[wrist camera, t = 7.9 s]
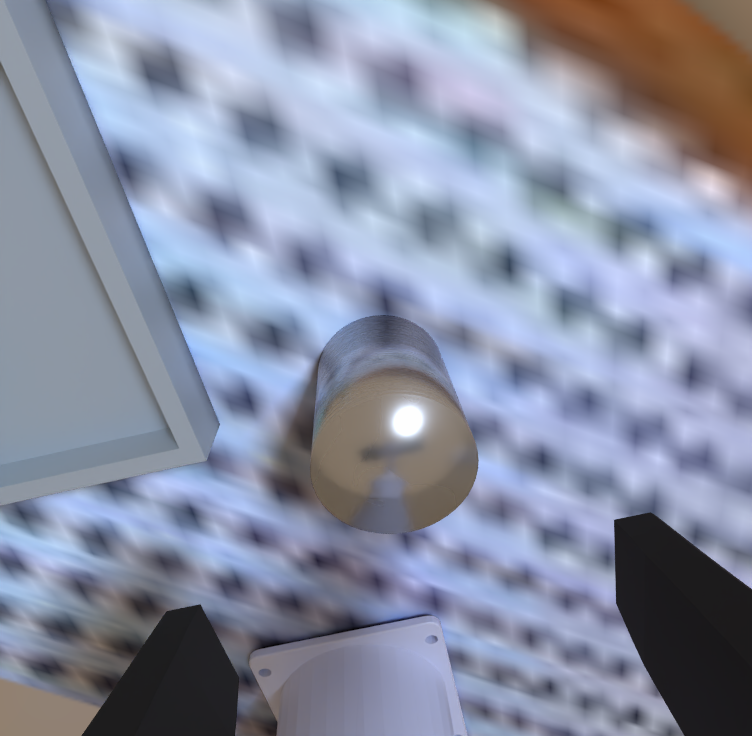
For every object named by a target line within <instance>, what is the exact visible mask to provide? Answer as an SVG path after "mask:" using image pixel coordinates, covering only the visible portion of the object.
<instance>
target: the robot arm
mask: <svg viewBox="0 0 752 736" xmlns="http://www.w3.org/2000/svg"><path fill="white" fill-rule="evenodd" d="M614 532H615V573H616V604H617V606H618V608H619V611H620V613H621V615H622V618H623V620H624V622H625V624H626V627H627V629H628V631H629V633H630V636H631V638H632V640H633V642H634V644H635V647H636V649H637V651H638V653H639V655H640V658H641V660H642V662H643V664H644V666H645V668H646V670H647V671H648V673H649V675H650V677H651V678H652V680H653V682H654V684H655V685H656V687H657V689H658V691H659V692H660V694H661V696H662V698H663V699H664V701H665V703H666V705H667V706H668V708H669V710H670V712H671V713H672V715H673V717H674V718H675V720H676V722H677V724H678V725H679V727H680V729H681V730H682V732H683V734H684V736H752V589H751V588H749V587H748V586H747V585H745V584H744V583H743V582H741V581H740V580H739V579H737V578H736V577H735V576H733V575H732V574H731V573H729V572H728V571H727V570H725V569H724V568H723V567H721V566H720V565H719V564H717V563H716V562H715V561H714V560H712V559H711V558H710V557H708V556H707V555H706V554H704V553H703V552H702V551H700V550H699V549H698V548H697V547H695V546H694V545H693V544H691V543H690V542H689V541H688V540H686V539H685V538H684V537H683V536H681V535H680V534H679V533H677V532H676V531H675V530H674V529H672V528H671V527H670V526H668V525H667V524H666V523H665V522H663V521H662V520H661V519H660V518H658V517H657V516H655V515H654V514H652V513H651V512H650V513H645V514H641V515H636V516H631V517H626V518H621V519H616V520H614ZM249 666H250V668H251V670H252V672H253V674H254V676H255V678H256V680H257V682H258V684H259V686H260V688H261V690H262V692H263V694H264V696H265V698H266V700H267V702H268V704H269V706H270V708H271V710H272V712H273V714H274V716H275V718H276V720H277V722H278V726H277V736H468V735H467V731H466V727H465V722H464V718H463V714H462V710H461V706H460V702H459V698H458V693H457V689H456V685H455V681H454V677H453V673H452V669H451V664H450V660H449V656H448V652H447V648H446V644H445V640H444V635H443V631H442V627H441V623H440V621H439V619H438V618H437V617H435V616H431V615H430V616H422V617H417V618H412V619H407V620H402V621H397V622H392V623H387V624H382V625H377V626H372V627H367V628H362V629H357V630H352V631H347V632H342V633H337V634H332V635H327V636H322V637H317V638H312V639H307V640H302V641H297V642H292V643H287V644H282V645H277V646H272V647H267V648H262V649H258V650H255V651H254V652H253V653H251V655H250V660H249ZM238 684H239V677H238V675H237V673H236V671H235V669H234V668H233V666H232V664H231V662H230V660H229V658H228V656H227V654H226V652H225V650H224V648H223V647H222V645H221V643H220V641H219V639H218V637H217V635H216V633H215V631H214V629H213V628H212V626H211V624H210V622H209V620H208V618H207V616H206V614H205V612H204V610H203V609H202V607H201V605H195V606H190V607H185V608H180V609H176V610H171V611H167V612H166V613H165V615H164V616H163V617H162V619H161V620H160V622H159V623H158V625H157V626H156V628H155V629H154V631H153V632H152V633H151V635H150V636H149V638H148V639H147V641H146V642H145V644H144V645H143V647H142V648H141V650H140V651H139V653H138V654H137V656H136V657H135V658H134V660H133V661H132V663H131V664H130V666H129V667H128V669H127V670H126V672H125V673H124V675H123V676H122V678H121V679H120V681H119V682H118V684H117V685H116V687H115V688H114V690H113V691H112V693H111V694H110V695H109V697H108V698H107V700H106V701H105V703H104V704H103V706H102V707H101V709H100V710H99V711H98V713H97V714H96V716H95V717H94V719H93V720H92V721H91V723H90V724H89V726H88V727H87V729H86V730H85V731H84V733H83V734H82V736H235V729H236V717H237V701H238Z"/></svg>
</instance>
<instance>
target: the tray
mask: <svg viewBox="0 0 752 736" xmlns="http://www.w3.org/2000/svg"><path fill="white" fill-rule="evenodd" d="M219 425H220V423H219V421H218V419H217V416H216V414H215V411H214V409H213V406H212V404H211V402H210V399H209V397H208V394H207V392H206V389H205V387H204V385H203V382H202V380H201V377H200V375H199V372H198V370H197V368H196V365H195V363H194V360H193V358H192V355H191V353H190V351H189V348H188V346H187V343H186V341H185V338H184V336H183V333H182V331H181V329H180V326H179V324H178V321H177V319H176V316H175V314H174V312H173V309H172V307H171V304H170V302H169V299H168V297H167V295H166V292H165V290H164V287H163V285H162V282H161V280H160V278H159V275H158V273H157V270H156V268H155V265H154V263H153V261H152V258H151V256H150V253H149V251H148V248H147V246H146V243H145V241H144V239H143V236H142V234H141V231H140V229H139V226H138V224H137V222H136V219H135V217H134V214H133V212H132V209H131V207H130V205H129V202H128V200H127V197H126V195H125V192H124V190H123V188H122V185H121V183H120V180H119V178H118V175H117V173H116V171H115V168H114V166H113V163H112V161H111V158H110V156H109V153H108V151H107V149H106V146H105V144H104V141H103V139H102V136H101V134H100V132H99V129H98V127H97V124H96V122H95V119H94V117H93V115H92V112H91V110H90V107H89V105H88V102H87V100H86V98H85V95H84V93H83V90H82V88H81V85H80V83H79V81H78V78H77V76H76V73H75V71H74V68H73V66H72V64H71V61H70V59H69V56H68V54H67V51H66V49H65V46H64V44H63V42H62V39H61V37H60V34H59V32H58V29H57V27H56V25H55V22H54V20H53V17H52V15H51V12H50V10H49V8H48V5H47V3H46V0H0V505H4V504H9V503H14V502H18V501H23V500H27V499H32V498H37V497H41V496H46V495H51V494H55V493H60V492H64V491H69V490H74V489H78V488H83V487H87V486H92V485H97V484H101V483H106V482H111V481H115V480H120V479H124V478H129V477H134V476H138V475H143V474H147V473H152V472H157V471H161V470H166V469H171V468H175V467H180V466H184V465H189V464H194V463H198V462H203V461H207V458H208V455H209V452H210V450H211V447H212V444H213V442H214V439H215V436H216V433H217V431H218V428H219Z"/></svg>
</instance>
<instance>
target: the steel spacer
mask: <svg viewBox="0 0 752 736" xmlns="http://www.w3.org/2000/svg"><path fill="white" fill-rule="evenodd" d="M477 471H478V451H477V447H476V443H475V440H474V438H473V435H472V433H471V430H470V428H469V425H468V423H467V420H466V417H465V415H464V412H463V410H462V407H461V405H460V402H459V400H458V397H457V394H456V392H455V389H454V387H453V384H452V382H451V379H450V377H449V374H448V371H447V369H446V366H445V364H444V361H443V359H442V356H441V354H440V351H439V349H438V346H437V345H436V343H435V342H434V340H433V339H432V338H431V336H430V335H429V334H428V333H427V332H426V331H425V330H424V329H422V328H421V327H419V326H418V325H417V324H415V323H413V322H411V321H409V320H406V319H403V318H400V317H395V316H386V315H380V316H370V317H365V318H362V319H359V320H356V321H354V322H352V323H350V324H348V325H346V326H345V327H343V328H342V329H341V330H339V331H338V332H337V333H336V334H335V335H334V336H333V337H332V338H331V339H330V341H329V342H328V343H327V345H326V346H325V348H324V350H323V352H322V355H321V357H320V361H319V365H318V377H317V389H316V402H315V414H314V427H313V439H312V452H311V465H310V473H311V480H312V484H313V488H314V490H315V492H316V495H317V497H318V498H319V500H320V501H321V503H322V504H323V505H324V506H325V508H326V509H327V510H328V511H329V512H330V513H331V514H333V515H334V516H335V517H336V518H338V519H339V520H341V521H342V522H344V523H346V524H348V525H350V526H352V527H355V528H358V529H360V530H364V531H368V532H374V533H383V534H396V533H405V532H411V531H415V530H419V529H422V528H425V527H427V526H430V525H432V524H434V523H436V522H438V521H440V520H441V519H443V518H445V517H446V516H448V515H449V514H450V513H451V512H453V511H454V510H455V509H456V508H457V507H458V506H459V505H460V504H461V503H462V502H463V500H464V499H465V498H466V497H467V495H468V494H469V492H470V490H471V488H472V486H473V484H474V481H475V479H476V475H477Z"/></svg>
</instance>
